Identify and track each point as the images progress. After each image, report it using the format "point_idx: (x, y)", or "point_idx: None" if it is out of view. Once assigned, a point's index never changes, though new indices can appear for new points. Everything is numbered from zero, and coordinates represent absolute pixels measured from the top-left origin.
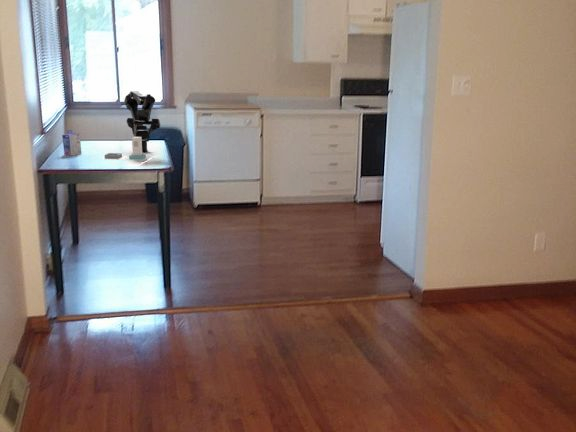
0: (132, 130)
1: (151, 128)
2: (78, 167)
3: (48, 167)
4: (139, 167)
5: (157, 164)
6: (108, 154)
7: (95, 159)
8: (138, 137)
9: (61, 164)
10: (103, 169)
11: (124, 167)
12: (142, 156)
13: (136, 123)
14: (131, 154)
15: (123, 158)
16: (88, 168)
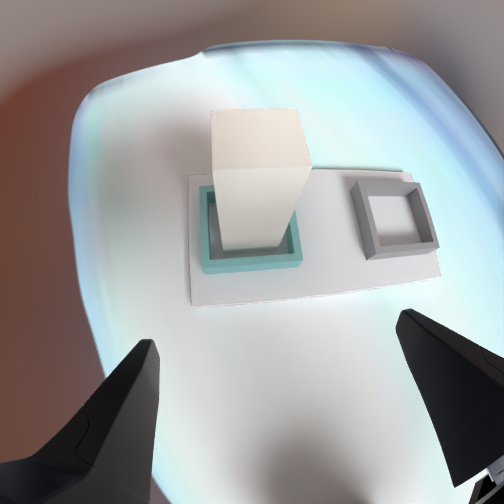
0: (447, 329)
1: (80, 410)
2: (372, 66)
3: (429, 75)
4: (174, 78)
5: (111, 144)
6: (426, 228)
7: (444, 207)
8: (230, 121)
9: (444, 107)
10: (283, 44)
11: (231, 68)
12: (199, 188)
13: (493, 491)
14: (295, 223)
15: (327, 203)
16: (335, 54)
